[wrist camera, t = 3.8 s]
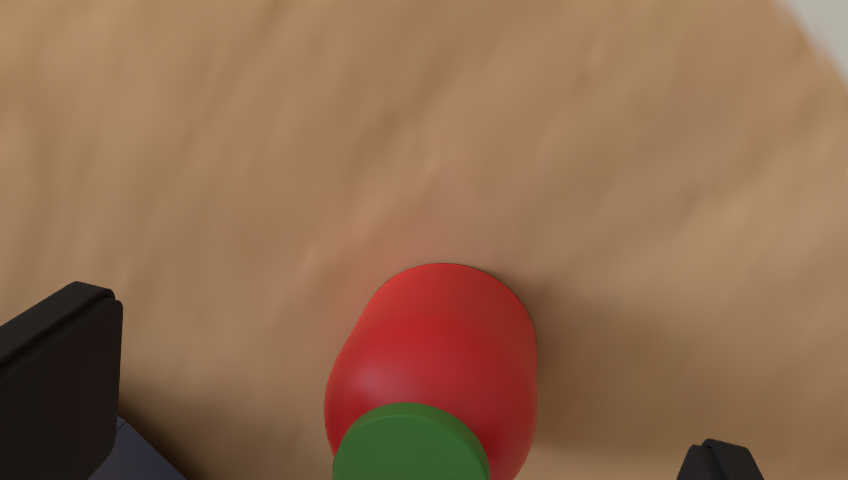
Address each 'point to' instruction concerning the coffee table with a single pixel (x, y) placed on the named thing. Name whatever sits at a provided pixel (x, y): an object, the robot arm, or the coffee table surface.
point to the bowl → (134, 459)
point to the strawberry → (435, 381)
